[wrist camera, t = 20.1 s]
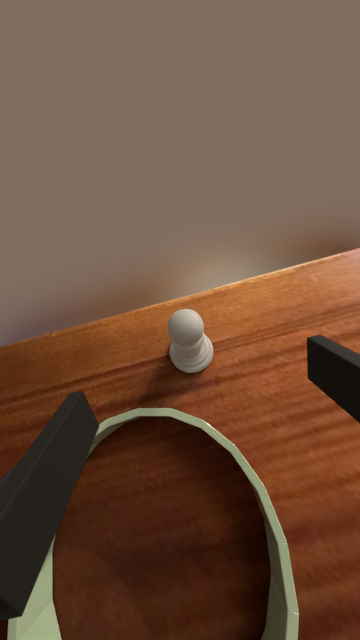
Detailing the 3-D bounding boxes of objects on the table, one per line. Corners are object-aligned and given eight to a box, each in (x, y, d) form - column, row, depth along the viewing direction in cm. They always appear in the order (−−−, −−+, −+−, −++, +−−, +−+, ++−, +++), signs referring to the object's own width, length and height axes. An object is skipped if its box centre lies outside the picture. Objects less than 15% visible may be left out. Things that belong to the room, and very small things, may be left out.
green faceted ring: (-4, 634, 16) (-56, 689, 13) (110, 384, 23) (95, 380, 20) (255, 862, 11) (276, 1045, 8) (290, 451, 19) (308, 459, 15)
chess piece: (166, 338, 25) (147, 303, 17) (205, 327, 25) (205, 286, 17) (176, 379, 23) (160, 360, 15) (219, 366, 23) (226, 340, 15)
